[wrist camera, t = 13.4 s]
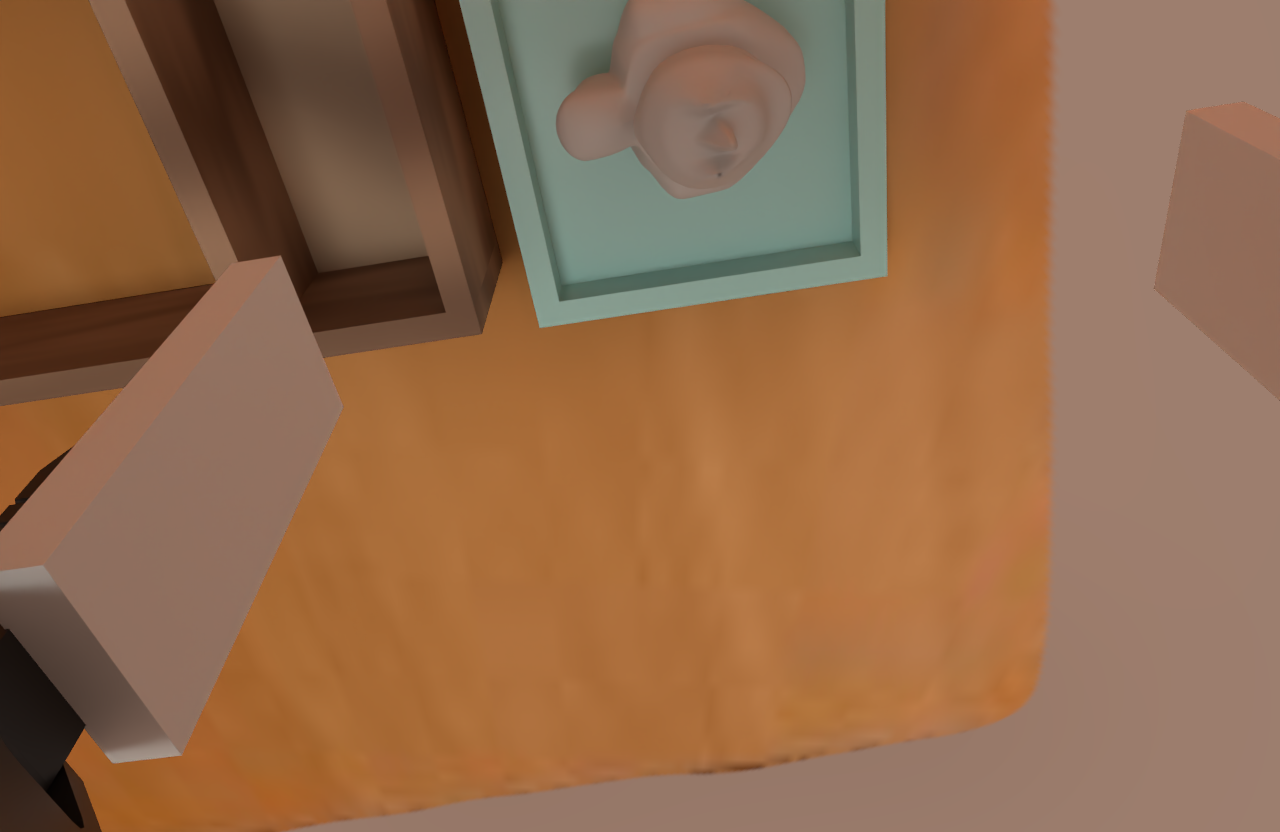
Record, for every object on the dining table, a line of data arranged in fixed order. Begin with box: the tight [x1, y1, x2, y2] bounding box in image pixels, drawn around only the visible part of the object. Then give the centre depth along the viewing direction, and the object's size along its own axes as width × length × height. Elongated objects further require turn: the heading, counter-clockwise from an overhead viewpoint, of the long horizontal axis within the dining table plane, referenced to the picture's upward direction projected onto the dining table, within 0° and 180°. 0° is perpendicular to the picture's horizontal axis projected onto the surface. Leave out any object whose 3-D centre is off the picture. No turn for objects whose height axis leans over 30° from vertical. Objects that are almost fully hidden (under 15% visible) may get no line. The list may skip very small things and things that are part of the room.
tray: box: [459, 0, 887, 328], centre depth 25 cm, size 13×11×2 cm
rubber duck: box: [556, 0, 806, 199], centre depth 22 cm, size 5×7×8 cm
